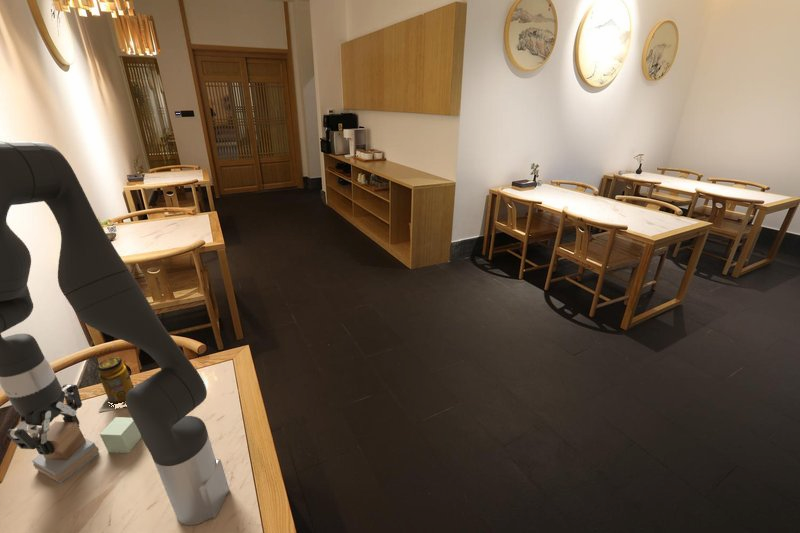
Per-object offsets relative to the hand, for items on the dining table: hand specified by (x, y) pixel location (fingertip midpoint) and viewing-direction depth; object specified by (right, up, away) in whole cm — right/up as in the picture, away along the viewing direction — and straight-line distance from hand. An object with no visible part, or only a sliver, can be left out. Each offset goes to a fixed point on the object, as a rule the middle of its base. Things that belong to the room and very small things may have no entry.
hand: (62, 440), depth 82 cm
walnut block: (0, -3, +1) cm, 3 cm away
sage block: (+9, -4, +7) cm, 12 cm away
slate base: (0, -6, +3) cm, 7 cm away
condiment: (-2, +2, +20) cm, 20 cm away
